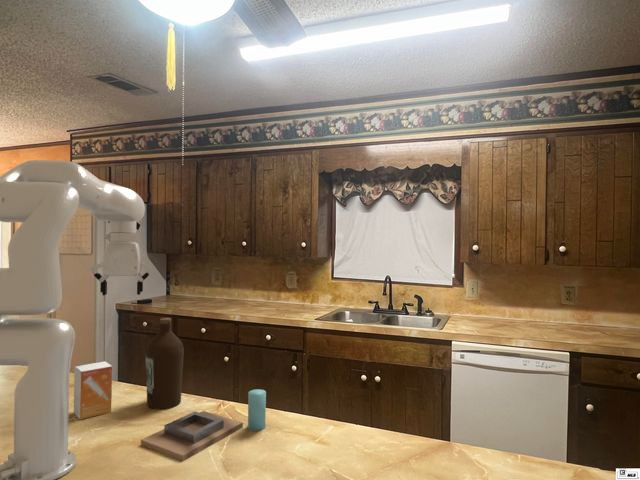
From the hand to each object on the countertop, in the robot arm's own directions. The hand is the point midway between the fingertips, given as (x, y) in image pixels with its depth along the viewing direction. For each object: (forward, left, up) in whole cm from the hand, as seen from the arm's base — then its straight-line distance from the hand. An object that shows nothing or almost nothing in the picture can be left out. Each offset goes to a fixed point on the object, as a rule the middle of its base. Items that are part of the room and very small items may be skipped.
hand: (121, 294), depth 132 cm
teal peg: (+5, -49, -31) cm, 58 cm away
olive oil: (+3, -16, -31) cm, 35 cm away
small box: (-12, -5, -31) cm, 34 cm away
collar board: (-7, -39, -31) cm, 50 cm away
